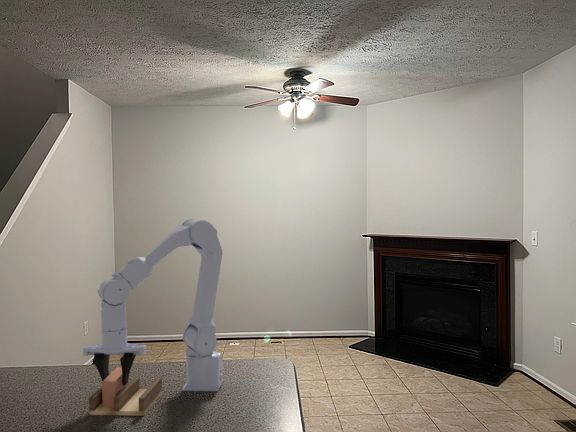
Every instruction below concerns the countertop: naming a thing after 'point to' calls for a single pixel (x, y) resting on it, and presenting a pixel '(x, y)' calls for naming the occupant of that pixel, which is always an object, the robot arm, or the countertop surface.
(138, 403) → the book rack
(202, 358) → the robot arm
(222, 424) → the countertop surface
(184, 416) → the countertop surface
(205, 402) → the countertop surface
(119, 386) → the book
